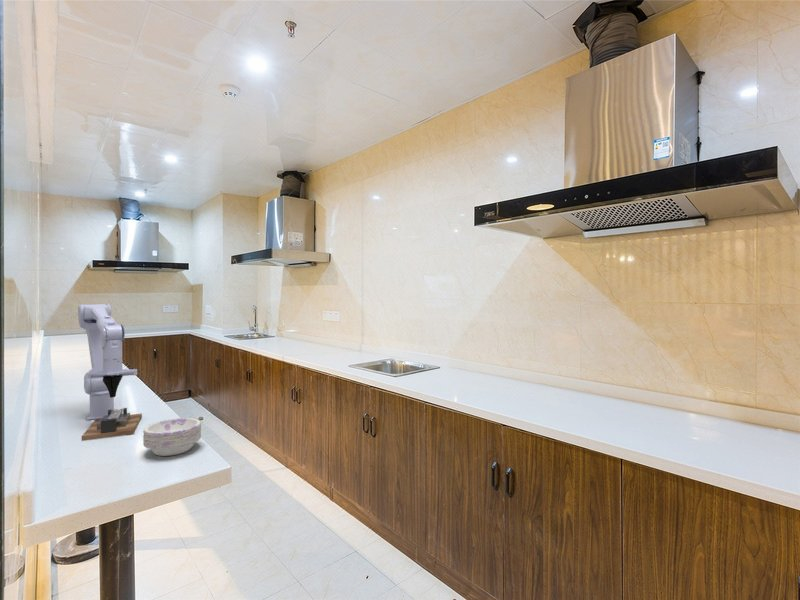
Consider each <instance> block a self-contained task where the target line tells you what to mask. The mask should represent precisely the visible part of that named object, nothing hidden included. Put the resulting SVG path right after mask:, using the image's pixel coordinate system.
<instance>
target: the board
mask: <svg viewBox="0 0 800 600" xmlns="http://www.w3.org/2000/svg"><path fill="white" fill-rule="evenodd" d="M142 418H143V413H135V414H130V420H129V421H128V423H127V425H126V426H125V427H118V428H117V430H116V432H109V433H101V430H97V423H98V422H99V421H100V419H101V418H97V419H94V421H93V422H92V423H91V424H90V425H89V427H87V429H86V431H85V432H84V433H82V435H81V442H84V441H92V440H99V439H100V440H101V439H108V438H116V437H122V436H123V437H124V436H130V435H134V434H135V432H136V430H137V428H138V426H139V423H140V422H141V420H142Z"/></svg>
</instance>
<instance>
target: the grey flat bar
mask: <svg viewBox="0 0 800 600" xmlns="http://www.w3.org/2000/svg"><path fill="white" fill-rule="evenodd" d="M121 414H123V408H117V409H114V410H112V413H111V414H110V416H109V417H108V418H107V419H112V418H117V420H118V419H119V417H120V416H121Z"/></svg>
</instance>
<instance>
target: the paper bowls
mask: <svg viewBox="0 0 800 600" xmlns="http://www.w3.org/2000/svg"><path fill="white" fill-rule="evenodd" d="M201 437H202V422H201V421H200V420H198V418H191V417H179V418H170V419H164V420H161V421H160V420H159V421H156V422H153V423H151V424H148V425H147V426H145V427H144V428H143V437H142V439H143V440H142V441H143V444H142V445H143V446H144V448H146V449H150V450H151V452H152V453H153V454H154V455H156V456H159V457H171V456H177V455H181V454H183V453H186V452H187V451H189V450H190V449H192V448H193V445H194V444H195V443H196V442H198V441H199V440H200V439H201Z"/></svg>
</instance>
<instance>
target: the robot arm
mask: <svg viewBox="0 0 800 600" xmlns="http://www.w3.org/2000/svg"><path fill="white" fill-rule="evenodd" d="M77 317H78V324H79V327H80V328H81V329H84V330H85V333H86V335H87V340H88V341H87V343H88V351H89V357H90V364H91V369H89V371H87V372H86V373H85V374H84V377H83V389H84V393H85V394H87V395H89V415H88V417H87V418H85V419H86V421H89V420H90V421H91V420H96V419H97V418H102V417H103V416H105V415H108V410H110V409H112V410H115V408H114V407H115V406H114V405H115V404H114V403H115V400H114V399H115V397H116V396H117V392H118V387H119V385H120V382H122V381H121V380H122V379H123V378H124V376H125V377H126V376H137V375H138V369H137V368H133V369H127V368H125V369H123V341H124V340H125V333H126V331H125V327H124V325H123V324H121V323H120V324H118V323H117V322H116V320H115V319H114V317H112V306H111V305H110V304H109V303H102V304H101V303H97V304H95V303H94V304H91V303H90V304H82V303H80V304H79V305H78V307H77Z"/></svg>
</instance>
